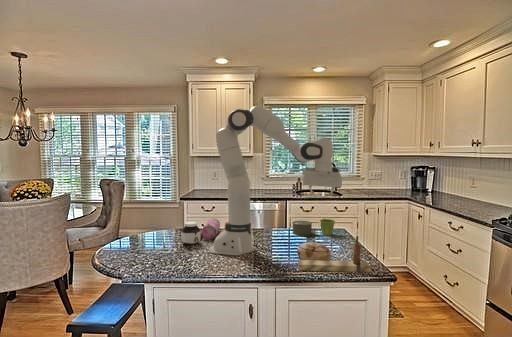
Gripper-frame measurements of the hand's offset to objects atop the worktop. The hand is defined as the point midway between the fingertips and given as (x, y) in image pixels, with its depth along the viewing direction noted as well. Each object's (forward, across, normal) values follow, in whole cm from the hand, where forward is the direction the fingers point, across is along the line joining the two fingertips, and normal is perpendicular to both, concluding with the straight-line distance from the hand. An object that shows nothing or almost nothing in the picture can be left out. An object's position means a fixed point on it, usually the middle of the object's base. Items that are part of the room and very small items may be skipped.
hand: (321, 195), depth 167 cm
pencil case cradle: (+30, -61, +24) cm, 73 cm away
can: (+26, -7, +34) cm, 44 cm away
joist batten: (+31, +5, -27) cm, 41 cm away
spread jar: (+33, -69, +6) cm, 77 cm away
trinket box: (+31, -3, -16) cm, 34 cm away
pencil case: (+31, -62, +23) cm, 73 cm away
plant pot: (+25, +8, +33) cm, 42 cm away
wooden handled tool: (+28, +15, -27) cm, 41 cm away
